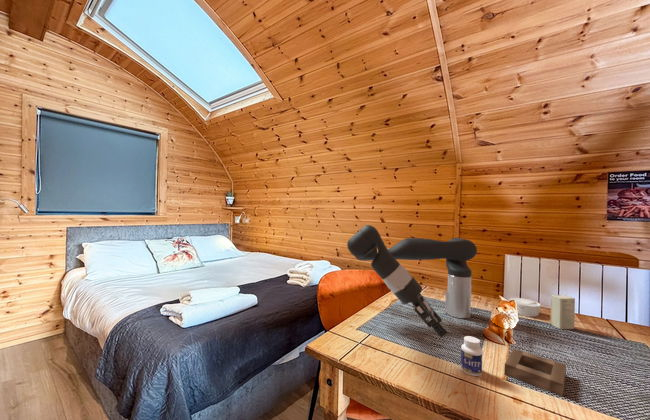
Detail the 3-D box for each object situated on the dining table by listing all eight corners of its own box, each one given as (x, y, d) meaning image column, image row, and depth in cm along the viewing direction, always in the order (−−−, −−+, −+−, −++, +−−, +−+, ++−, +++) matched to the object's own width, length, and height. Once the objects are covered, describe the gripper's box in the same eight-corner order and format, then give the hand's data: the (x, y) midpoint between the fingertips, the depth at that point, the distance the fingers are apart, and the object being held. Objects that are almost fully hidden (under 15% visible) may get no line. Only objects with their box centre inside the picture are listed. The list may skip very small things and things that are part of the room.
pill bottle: (461, 374, 73) (462, 341, 73) (459, 363, 78) (460, 333, 78) (483, 378, 72) (484, 345, 72) (479, 367, 76) (480, 336, 77)
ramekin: (542, 320, 113) (542, 307, 113) (510, 314, 119) (510, 302, 119) (538, 312, 122) (538, 300, 122) (509, 307, 128) (509, 296, 128)
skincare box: (564, 324, 109) (565, 294, 109) (575, 329, 104) (575, 298, 104) (549, 324, 108) (550, 294, 108) (559, 329, 104) (560, 298, 104)
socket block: (504, 374, 74) (504, 363, 74) (513, 358, 82) (513, 348, 82) (562, 396, 65) (563, 384, 65) (565, 375, 74) (566, 364, 74)
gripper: (392, 285, 87) (428, 325, 84) (391, 298, 73) (434, 348, 70) (410, 270, 85) (447, 311, 82) (413, 281, 72) (458, 331, 69)
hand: (441, 328), depth 76 cm, fingers open, 8 cm apart
